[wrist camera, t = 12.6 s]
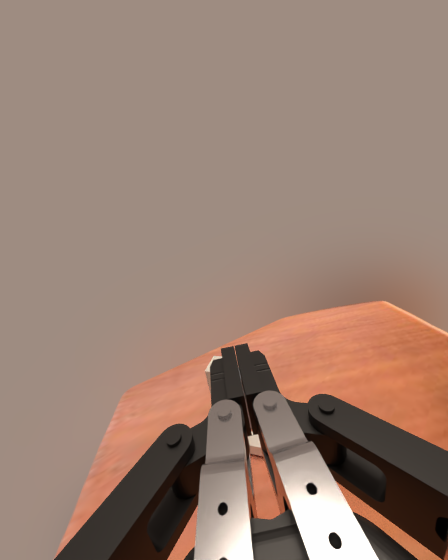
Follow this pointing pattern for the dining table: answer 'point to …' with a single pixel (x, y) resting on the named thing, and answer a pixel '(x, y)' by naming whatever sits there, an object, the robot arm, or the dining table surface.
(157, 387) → the dining table surface
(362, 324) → the dining table surface
